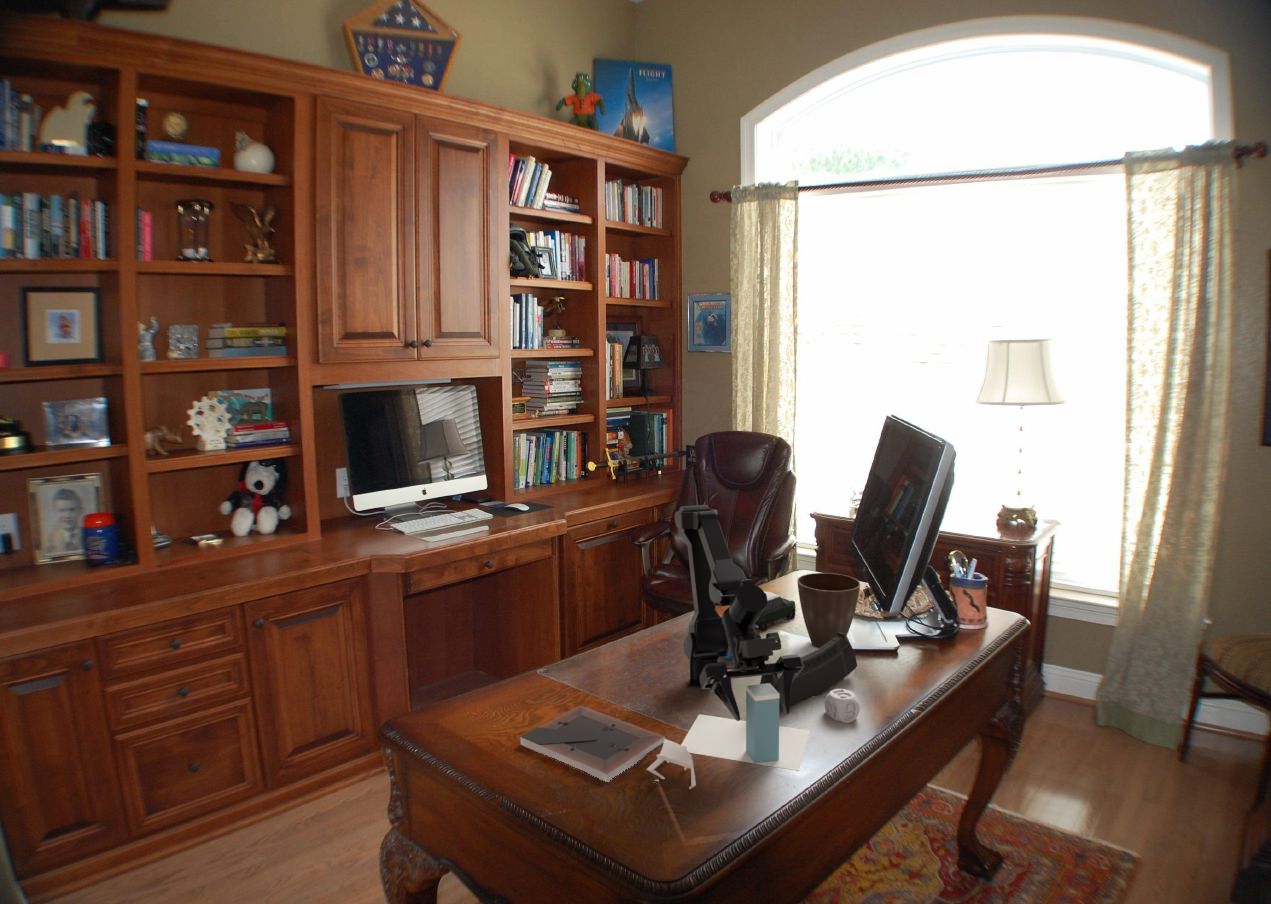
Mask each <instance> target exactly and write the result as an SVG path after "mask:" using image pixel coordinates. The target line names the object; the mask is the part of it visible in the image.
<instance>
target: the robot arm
mask: <svg viewBox="0 0 1271 904" xmlns="http://www.w3.org/2000/svg"><path fill="white" fill-rule="evenodd" d="M674 523H675V526H676V528H677V531H678V536H679V537H680V538H681V540H682V541H683V542H684V544H685V545H686V547H687V553H688V555H687V556H688V564H689V573H690V582H691V592H692V599H693V600H692V601H693V602H692V603H693V611H694V613H693V615H692V617H691V620H690V622H689V623H688V633H687V634H686V636H685V640H684V641H683V653H684V655H685V656H686V657H687V659H688V660H689V680H688V682H687V685H688V686H691V687H700V688H701V689H702V690H708V692H709V693H710V694H715V695H716V697H717V698H718V699H719V700H720V701H721V702H722V703H723V704H724V705H725V707H726V708H727V709H728V711H729V712H730V714H731V716H732V717H733V718H734V719H735V720H737V721H739V720H741V715H740V710H739V706H738V703H737V700H736V697H735V694H734V691H733V686H732V680H734V679H742V678H743V679H744V678H750V677H759V676H761V677H762V675H770V674H774V675H775V678H777V679H778V680H777V682H776V687H777V690H778V693H779V694H780V701H781V704H782V708H783V712H784V715H785V716H788V715H789V714H790V708H789V706H790V689H791V683H792V681H793V680H794V679H795V678H797V677H798V675H799V674H800V673H801V671H802V670H803V669H804V664H803V660H802V659H801V656H799V655H798V654H788V655H786V654H785V655H779V657H778V658H777V660H776V662H774V663H766V662H767V661H768V662H769V659H770V657H772V656H774V652H773V651H779V650H780V651H781V650H782V641H781V636H780V635H779V632H778V631H774V632H767V633H766V634H765V637H762V636H761V634H760V633H757V627H755V624H754V623H755V622H756V621H757V620H758V618H759V617H760V615H761V613H762V612H763V610H764V608H765V607H766V604H767V595H766V593H764V591H765V590H763V588H761V587H759V586H758V585H755V584H753V581H752V579H751V578H750V579H747V577H746V575H745V572H744V571H743V569H742V568H741V567H740V566H739V565H737V564H736V563H734V560H733V558H732V556H731V553H730V551H729V547H728V544H727V541H726V539H725V536H724V533H723V530H722V527H721V524H720V523H721V519H720V514H719V512H718V509H713V508H712V509H711V508H710V507H709V505H708V504H701V505H686V506H683V505H682V506H680V507H679V510H678V511H676V512H675V513H674ZM716 606H717V607H727V608H726V609H725V610H724V611H723V613H722V616H721V615H720V614H719V613H718V612H717V609H716ZM728 646H729V647H728ZM728 651H729V654H731V660H732V664H733V667H727V664H726V662H725V661H723V660H722V658H723V657H724V658H726V657H727V653H728Z"/></svg>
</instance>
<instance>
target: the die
mask: <svg viewBox="0 0 1271 904" xmlns="http://www.w3.org/2000/svg"><path fill="white" fill-rule="evenodd" d="M823 704H824V705H823V706H824V709H825V713H826V715H828V716H829V717H830V718H832V719H833V720H834V721H836V722H843V723H844V724H850V723H853V722H854V721H855V720H856V719H857V718H858V716H859V714H860V709H861V707H860V701H859V698H858V697H857V696H856V694H855V693H854V692H853V691H851V690H849V689H844V688H835V689H832V690H829V692H828V693H827V695H825V699H824V702H823ZM852 721H853V722H852Z"/></svg>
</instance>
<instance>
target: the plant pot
mask: <svg viewBox="0 0 1271 904" xmlns="http://www.w3.org/2000/svg"><path fill="white" fill-rule="evenodd" d="M860 589H861V582H860V581H859V580H858V579H857V578H855V577H852V576H850V575H845V574H839V573H833V572H813V573H807V574H804V575H801V576H799V577H797V591H798V598H799V602H800V603H799V604H800V609H801V612H802V617H803V618H802V619H803V622H804V624H805V625H804V626H805V628H806V631H807V634H808V637H809V640H810V643H811V645H812V646H813V647H815V648H817V649H818V648H820V647H822V646H823V645H825V644H826V643H827V642H829V641H830V640H831V639H832V638H834V637H835V636H837V633H838V632H842V633H845V634H846V636H847V637H848V634H849V631H850V628H851V626H852V622H853V619H854V616H855V612H856V609H857V605H858V599H859V595H860Z"/></svg>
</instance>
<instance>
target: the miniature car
mask: <svg viewBox="0 0 1271 904" xmlns="http://www.w3.org/2000/svg"><path fill="white" fill-rule="evenodd" d="M763 591H764V593H766V595H767V604H766V607H765V608H764V610H763V612H762V613H761V615H760V617H759V618H758V620H757V621H756V622H755V623H754V624H755V628H756V629H757V631H758V632H761V633H764V632H766V631H767V630H768V628H769V625H771V624H774V623H776V622H779V621H782V620H784V619H787V620H788V621H792V620H794V619H795V618H796V612H797V608H796V601H794V600H789V599H786V598H784V597H781V596H780V595H779V594H777V593H774V592H771V591H766V590H763Z"/></svg>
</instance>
